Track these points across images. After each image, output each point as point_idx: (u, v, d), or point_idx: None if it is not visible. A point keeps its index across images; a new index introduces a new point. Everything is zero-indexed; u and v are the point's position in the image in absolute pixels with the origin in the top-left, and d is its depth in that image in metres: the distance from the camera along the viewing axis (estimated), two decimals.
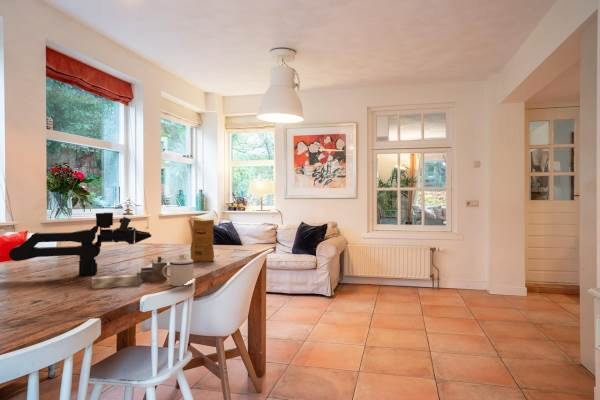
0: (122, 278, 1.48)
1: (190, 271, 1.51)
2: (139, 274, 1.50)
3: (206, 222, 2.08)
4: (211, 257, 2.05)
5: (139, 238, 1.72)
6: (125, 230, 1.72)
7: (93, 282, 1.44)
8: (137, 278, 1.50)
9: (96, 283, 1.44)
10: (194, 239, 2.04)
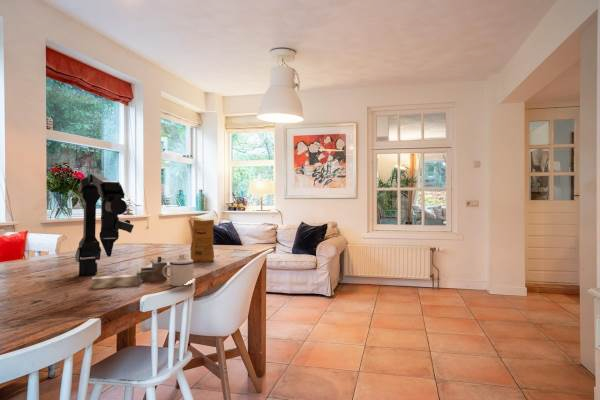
0: (122, 278, 1.48)
1: (190, 271, 1.51)
2: (139, 274, 1.50)
3: (206, 222, 2.08)
4: (211, 257, 2.05)
5: (106, 243, 1.42)
6: (116, 227, 1.46)
7: (93, 282, 1.44)
8: (137, 278, 1.50)
9: (96, 283, 1.44)
10: (194, 239, 2.04)
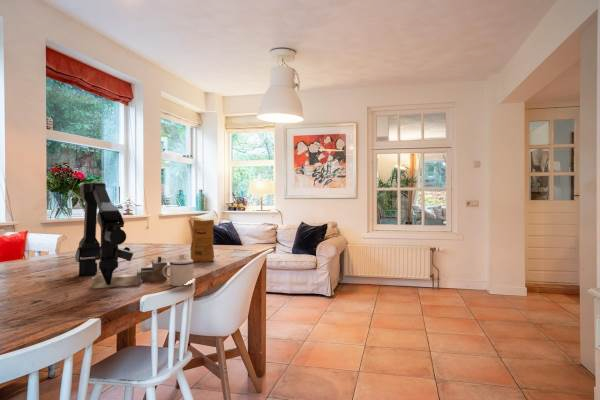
0: (122, 278, 1.48)
1: (190, 271, 1.51)
2: (139, 274, 1.50)
3: (206, 222, 2.08)
4: (211, 257, 2.05)
5: (105, 272, 1.44)
6: (115, 256, 1.46)
7: (93, 282, 1.44)
8: (137, 278, 1.50)
9: (96, 282, 1.44)
10: (194, 239, 2.04)
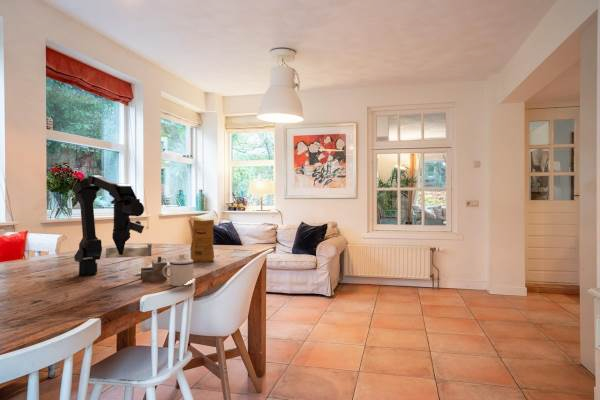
0: (134, 249, 1.57)
1: (190, 271, 1.51)
2: (149, 246, 1.59)
3: (206, 222, 2.08)
4: (211, 257, 2.05)
5: (118, 242, 1.53)
6: (128, 228, 1.55)
7: (107, 252, 1.53)
8: (148, 249, 1.59)
9: (109, 253, 1.53)
10: (194, 239, 2.04)
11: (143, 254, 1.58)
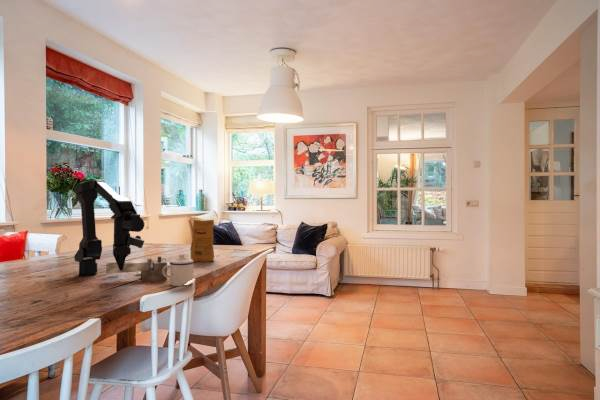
0: (134, 264, 1.57)
1: (190, 271, 1.51)
2: (150, 260, 1.59)
3: (206, 222, 2.08)
4: (211, 257, 2.05)
5: (118, 258, 1.53)
6: (128, 243, 1.55)
7: (107, 267, 1.53)
8: (148, 264, 1.59)
9: (110, 268, 1.53)
10: (194, 239, 2.04)
11: (143, 269, 1.59)
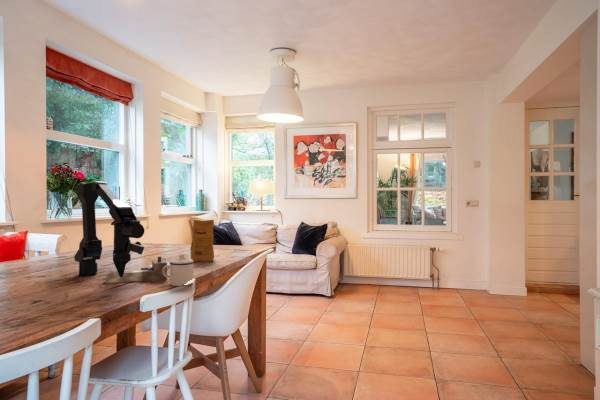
0: (134, 273, 1.57)
1: (190, 271, 1.51)
2: (149, 270, 1.59)
3: (206, 222, 2.08)
4: (211, 257, 2.05)
5: (118, 265, 1.52)
6: (128, 249, 1.55)
7: (107, 277, 1.53)
8: None
9: (109, 278, 1.53)
10: (194, 239, 2.04)
11: None
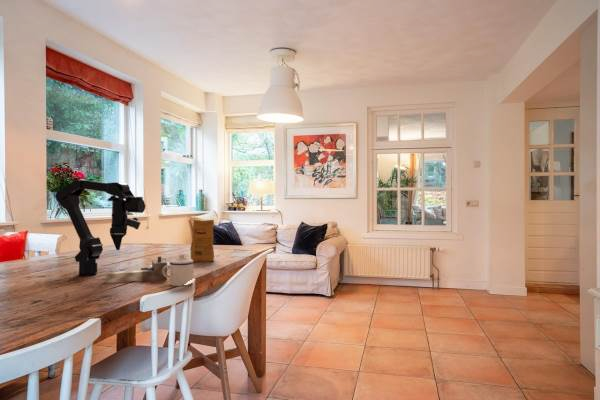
0: (134, 273, 1.57)
1: (190, 271, 1.51)
2: (149, 270, 1.59)
3: (206, 222, 2.08)
4: (211, 257, 2.05)
5: (115, 238, 1.60)
6: (125, 224, 1.64)
7: (107, 277, 1.53)
8: None
9: (109, 278, 1.53)
10: (194, 239, 2.04)
11: None
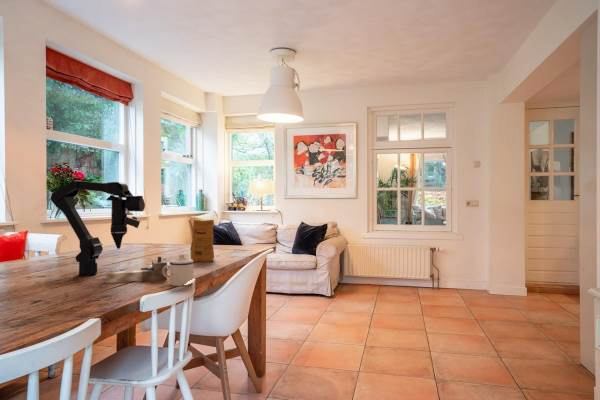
0: (134, 273, 1.57)
1: (190, 271, 1.51)
2: (149, 270, 1.59)
3: (206, 222, 2.08)
4: (211, 257, 2.05)
5: (116, 237, 1.62)
6: (125, 223, 1.66)
7: (107, 277, 1.53)
8: None
9: (109, 278, 1.53)
10: (194, 239, 2.04)
11: None
